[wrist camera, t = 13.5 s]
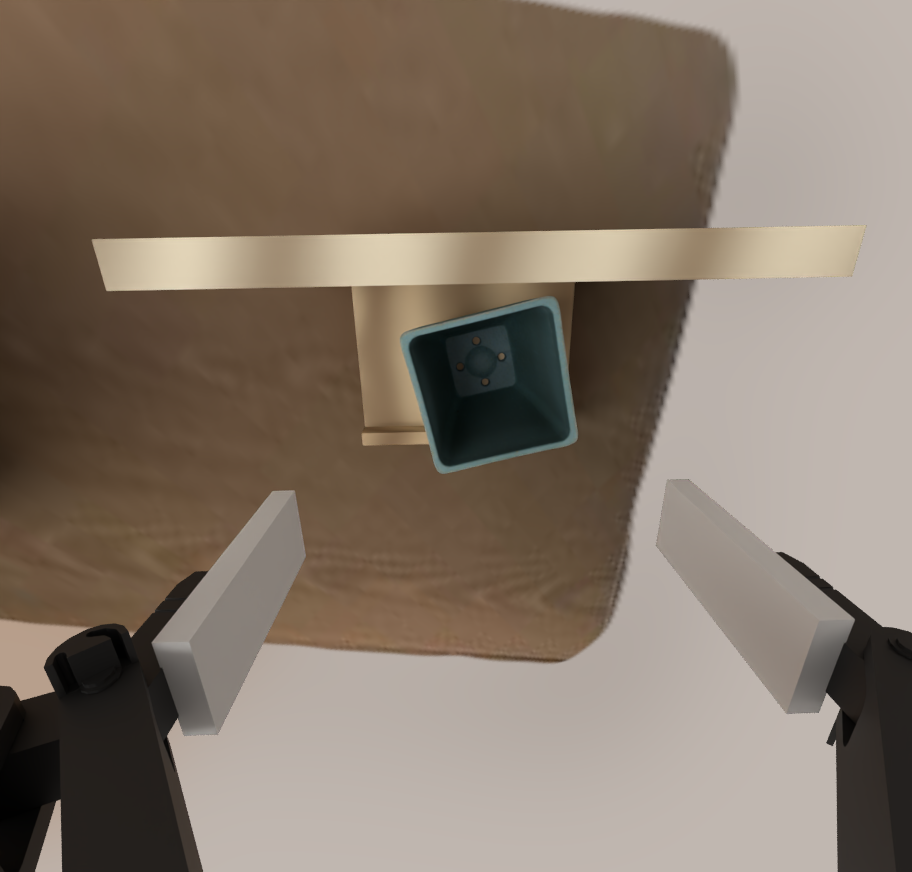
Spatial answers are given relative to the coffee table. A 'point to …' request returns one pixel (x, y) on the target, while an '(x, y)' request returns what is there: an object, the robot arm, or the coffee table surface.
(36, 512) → the coffee table surface
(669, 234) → the board
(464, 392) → the flower pot
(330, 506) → the coffee table surface
